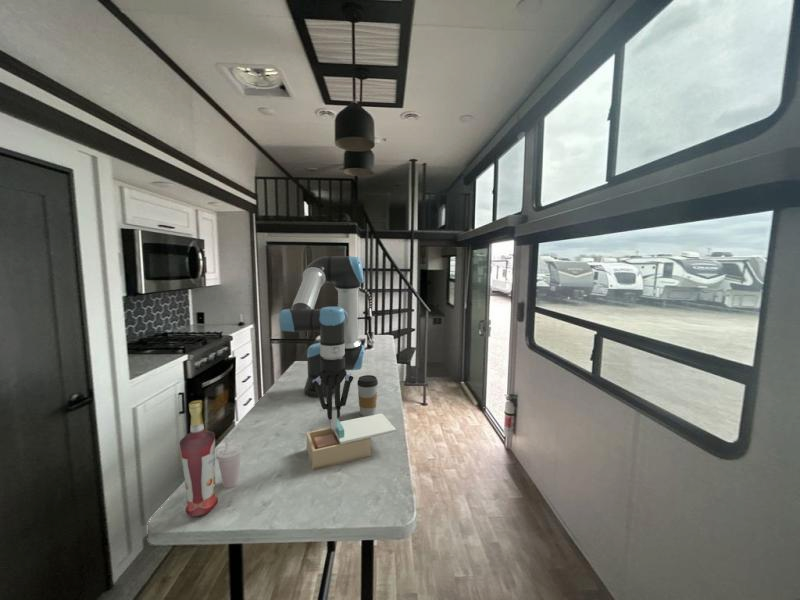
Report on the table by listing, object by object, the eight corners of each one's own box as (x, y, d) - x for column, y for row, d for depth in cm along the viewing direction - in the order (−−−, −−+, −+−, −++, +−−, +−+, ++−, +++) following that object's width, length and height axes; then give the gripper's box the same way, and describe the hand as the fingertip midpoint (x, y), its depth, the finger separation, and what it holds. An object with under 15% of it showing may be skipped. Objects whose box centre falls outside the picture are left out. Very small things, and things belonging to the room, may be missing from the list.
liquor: (215, 517, 79) (208, 407, 76) (180, 524, 77) (171, 411, 74) (222, 496, 86) (216, 395, 83) (190, 502, 84) (183, 398, 81)
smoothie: (224, 476, 94) (221, 430, 93) (247, 475, 95) (244, 429, 93) (213, 492, 88) (210, 443, 86) (238, 490, 89) (235, 442, 87)
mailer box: (306, 449, 108) (306, 432, 108) (358, 437, 116) (358, 421, 115) (313, 470, 97) (312, 451, 97) (370, 455, 105) (370, 438, 104)
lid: (331, 425, 111) (331, 416, 111) (382, 415, 119) (382, 407, 119) (340, 444, 100) (340, 434, 100) (396, 431, 108) (396, 422, 107)
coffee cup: (374, 419, 130) (374, 382, 128) (354, 417, 131) (354, 381, 129) (380, 410, 138) (380, 375, 136) (361, 408, 139) (361, 374, 138)
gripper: (313, 362, 96) (315, 437, 99) (356, 357, 102) (356, 429, 104) (309, 355, 103) (311, 426, 106) (349, 351, 108) (350, 418, 111)
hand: (333, 427), depth 105 cm, fingers closed
